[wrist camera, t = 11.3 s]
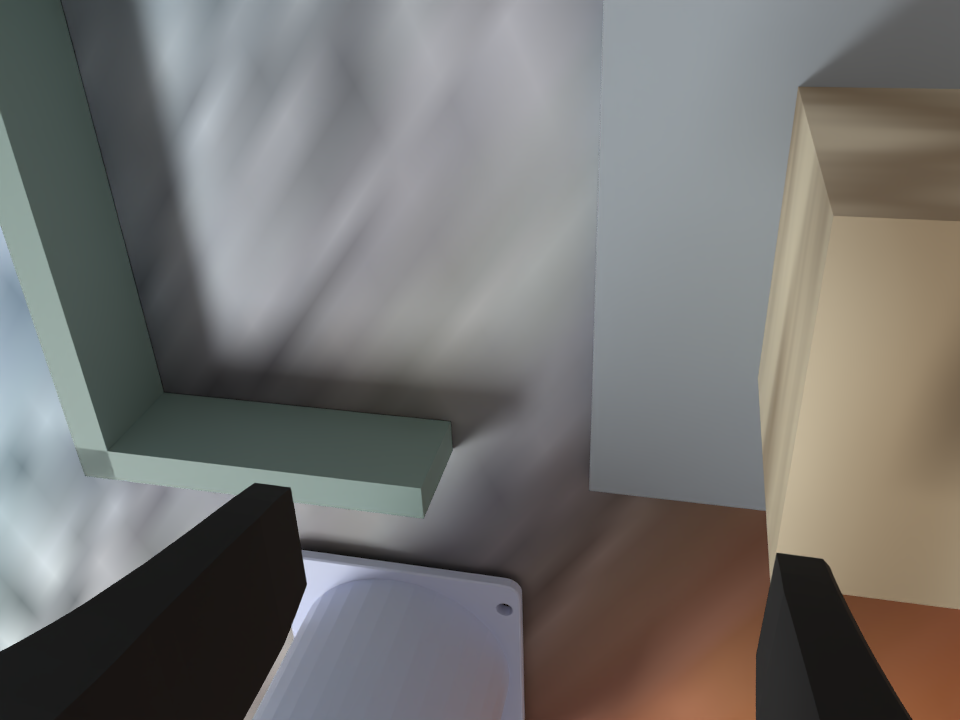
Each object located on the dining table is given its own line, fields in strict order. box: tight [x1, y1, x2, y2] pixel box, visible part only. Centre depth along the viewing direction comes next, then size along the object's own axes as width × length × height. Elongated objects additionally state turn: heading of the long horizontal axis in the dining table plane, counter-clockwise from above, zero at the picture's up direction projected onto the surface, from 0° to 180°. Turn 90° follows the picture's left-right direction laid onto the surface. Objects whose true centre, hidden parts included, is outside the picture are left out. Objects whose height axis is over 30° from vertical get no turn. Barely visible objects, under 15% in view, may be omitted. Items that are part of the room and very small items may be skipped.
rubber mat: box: [589, 0, 960, 511], centre depth 20 cm, size 16×12×1 cm
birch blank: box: [758, 87, 960, 609], centre depth 17 cm, size 4×7×7 cm, turn 3°
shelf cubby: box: [0, 0, 453, 519], centre depth 22 cm, size 15×10×3 cm, turn 2°
